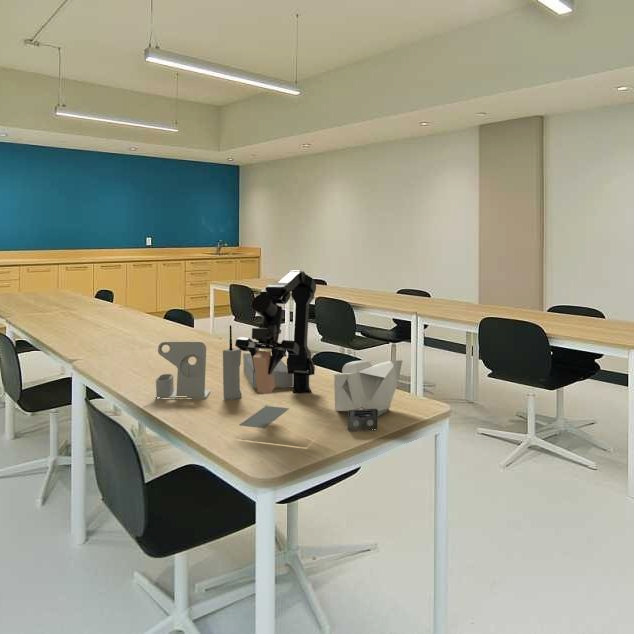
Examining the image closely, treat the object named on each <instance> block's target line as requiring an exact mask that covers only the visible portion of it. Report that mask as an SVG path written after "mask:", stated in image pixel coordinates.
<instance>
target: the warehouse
mask: <svg viewBox="0 0 634 634" xmlns="http://www.w3.org/2000/svg"><path fill="white" fill-rule="evenodd" d="M244 371H245V372H244ZM243 372H244V373H246V374H245V376H246V375H247V376H246V377H247V379H248V381H249V383H250V385H251V387H252V389H253V390H258V389H257V382H256V376H255V373H254V367H253V360H252V356H251V353H245V352H243ZM273 374H274V381H275V387H281V388H290V387H289V386H293V374H288V369H287V364H286V363H285V362H284V360H282V359H281V360H280V362H279V363H278V364H277V365H276V367H275V369H274V370H273Z"/></svg>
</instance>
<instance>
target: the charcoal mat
mask: <svg viewBox="0 0 634 634" xmlns="http://www.w3.org/2000/svg"><path fill="white" fill-rule="evenodd" d="M288 410H290V408H289V407H279V406H271V405H264V406H263V407H261V408H260V410H258V411H257V412H255V413H254V414H251V416H249V417H248V418H246V420H243V422H241V423H240V424H239V426H243V427H250V428H251V427H252V428H260V429H265V428H267V427H268V426H269V425H270V424H272V423H273V422H274V421H276V420H277V419H278V418H279V417H281V416H282V415H284V414H285V412H287V411H288Z"/></svg>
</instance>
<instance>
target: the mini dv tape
mask: <svg viewBox="0 0 634 634" xmlns="http://www.w3.org/2000/svg"><path fill="white" fill-rule="evenodd" d="M378 418H379V417H378V410H377V409H362V408H361V409H358V410H348V411H347V431H348V430H349V431H348V432H358V431H357V430H371V431H375V430H374V429H377V430H378V421H379V419H378ZM372 429H373V430H372Z"/></svg>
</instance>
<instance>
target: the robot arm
mask: <svg viewBox="0 0 634 634" xmlns="http://www.w3.org/2000/svg"><path fill="white" fill-rule="evenodd" d="M316 291H317V285H316V282H315V280H314V278H313V277H311V276H310V275H308V274H306V273H305V271H303V270H302V269H296V270H295V269H291V270H289V271H288V272H287V274H286V275H285V276H284V277H282V278H281V279H280V280H279V281H278V282H273V283H269V284H267V285H266V286H265V288H264V289H263V290H260V292H259V294H258V295H256V296H255V297H254V298H253V300H252V301H251V307H252V309H253V310H254V311H255V313H257V314H258V315H259V316H260V317H261V318H262V321H261V323H259V326H258V327H252V328H251V338H250V337H241V336H240V337H237V339H236V340H235V343H234V346H235V347H236V348H237V349H240V350H241V352H242V351H243V352H249V354H251V356H252V360H253V356H254V355H255V354H256V352H257V351H260V349H262V350H263V349H264V350H271V361H270V365H269V370H268V374H269V375H271V373H272V372H273V370H274V369H275V367H276V365H277V364H278V363H279V362H280V360H282V359H283V358H284V357H285V358H286V357H287V358H286V366H287V369H288V374H293V387H291V391H292V393H312V389H311V387H310V376H312V375H313V376H314V375H315V373H316V372H315V370H316V366H315V364H314V362H313V359H312V353H311V350H310V349H309V347H308V334H309V333H308V332H309V330H308V328H309V316H310V315H309V314H310V313H309V312H310V311H309V310H310V304H311V303H312V301H313V300H314V298H315V293H316ZM291 297H292V299H293V301H294V303H295V310H294V311H295V316H294V330H293V331H294V332H293V333H294V334H293V340H286V339H285V340H284V339H283V340H281V342H279V336H280V334H281V333H282V330H281V327H282V319H283V316H284V315H285V311H284V310H283V308H282V306H281V305H287V304H288V302H289V300H290V299H291ZM253 340H255V341H253ZM286 353H287V354H286ZM253 367H254V362H253ZM254 373H255V369H254Z"/></svg>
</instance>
